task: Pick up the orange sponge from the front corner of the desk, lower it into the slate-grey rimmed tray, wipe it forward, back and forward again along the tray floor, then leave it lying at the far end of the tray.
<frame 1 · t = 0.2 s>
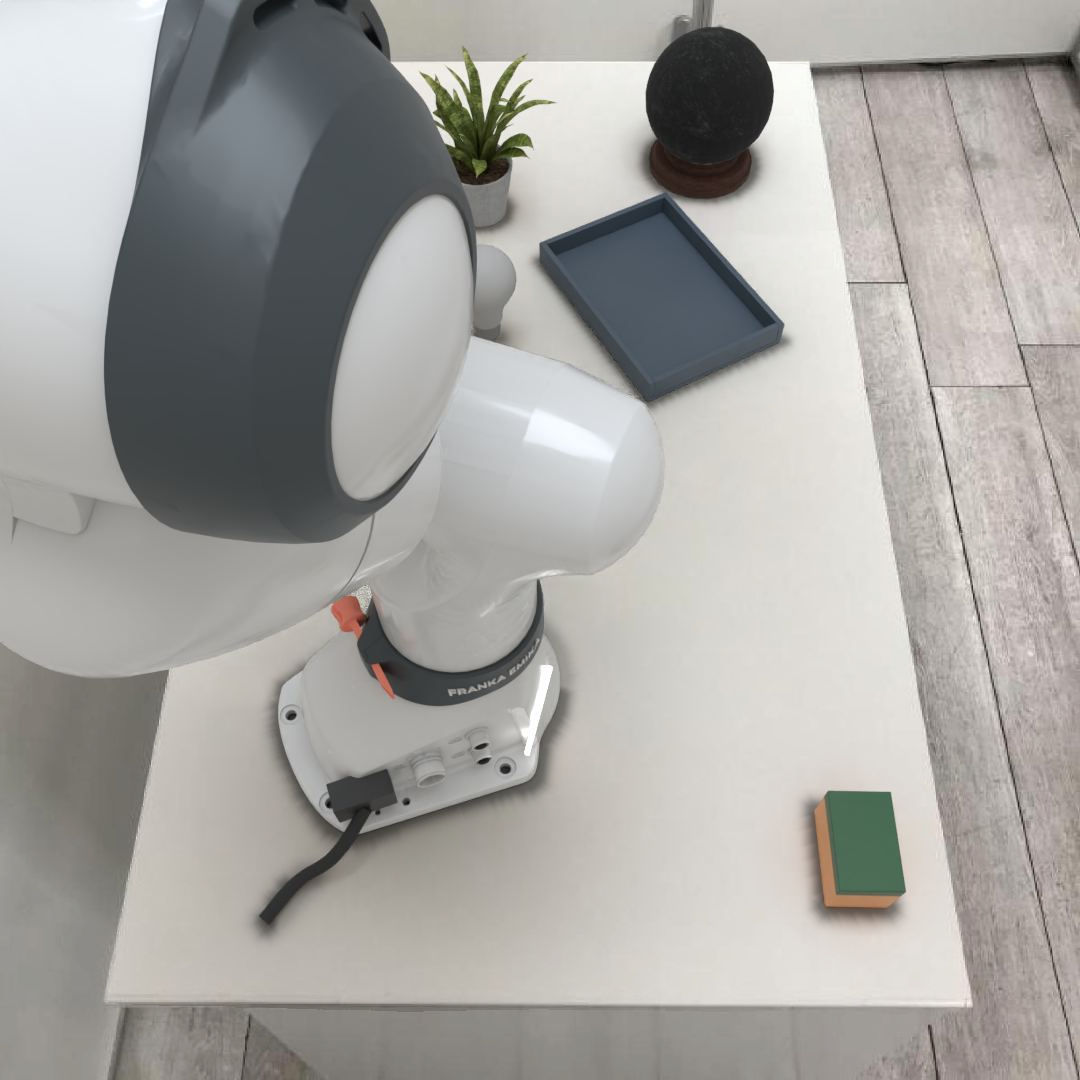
tray: (656, 300, 107), on the table
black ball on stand: (699, 165, 118), on the table
lightbulb: (488, 338, 105), on the table
sponge: (849, 858, 78), on the table
house plant: (494, 209, 115), on the table
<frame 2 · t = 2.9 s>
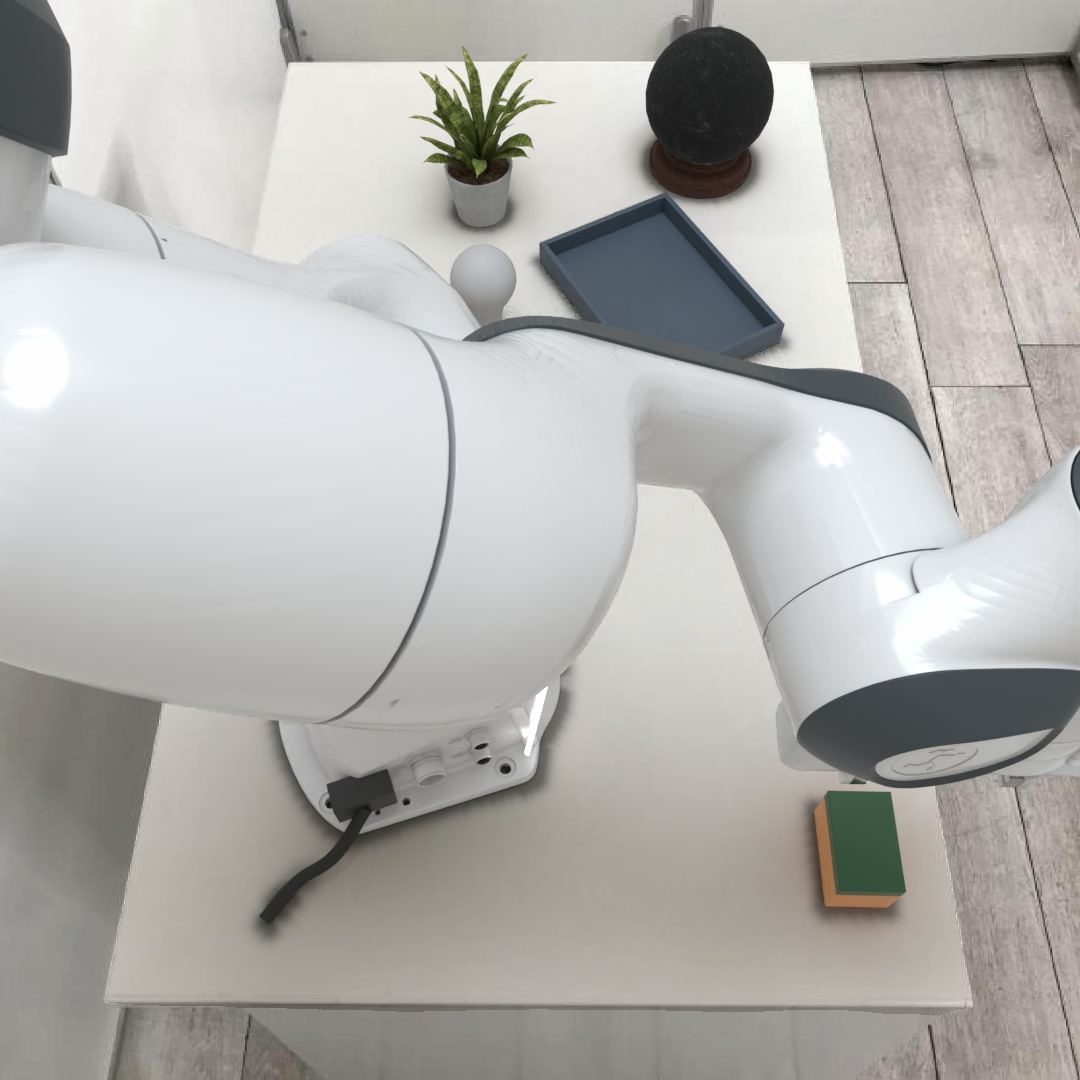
hand: (929, 773, 64), 17 cm above the table, tool pointing down, fingers open, 8 cm apart
nothing on the table moved.
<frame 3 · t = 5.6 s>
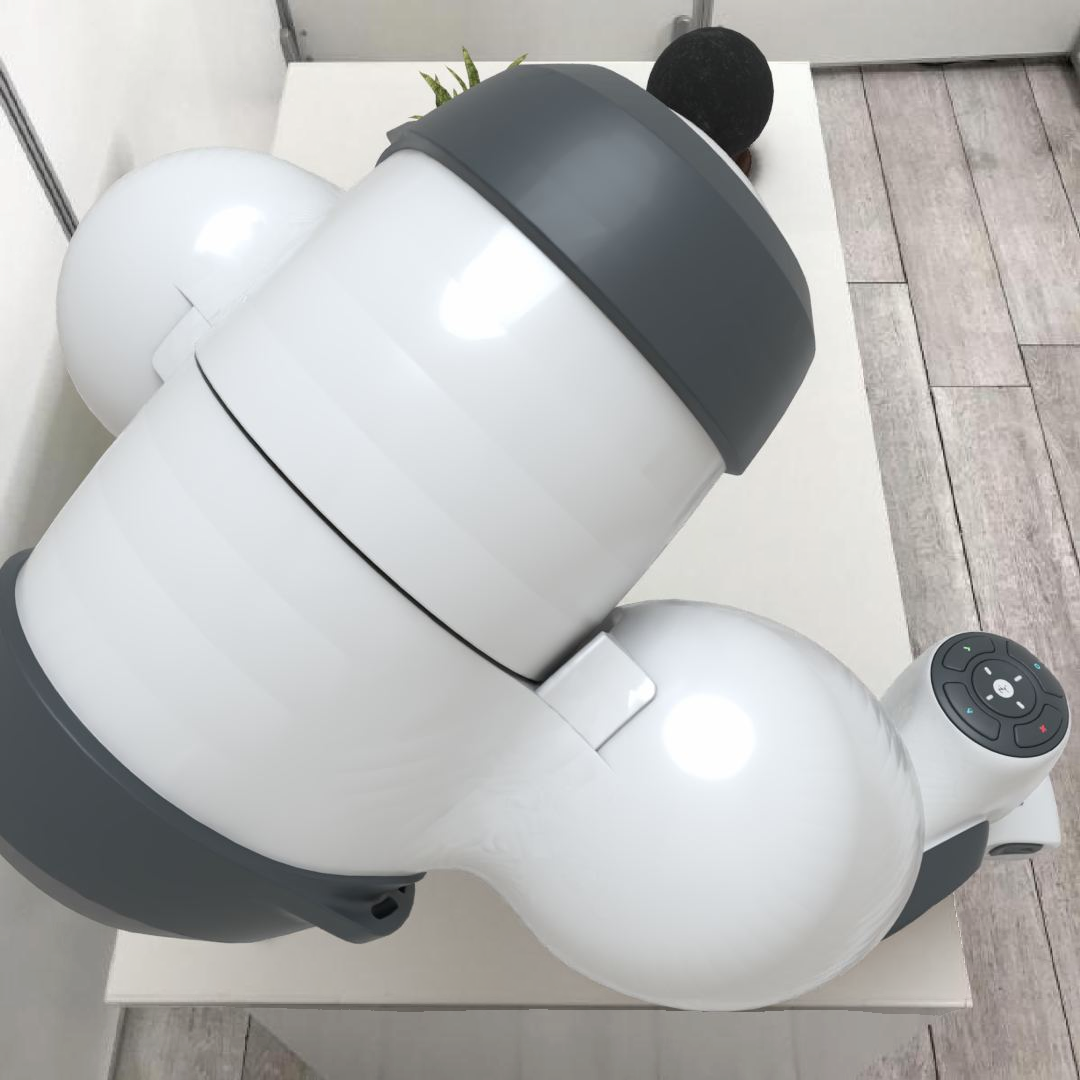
hand: (855, 851, 77), 2 cm above the table, tool pointing down, fingers closed on sponge, 4 cm apart
sponge: (849, 857, 78), on the table, touching gripper
everything else where it was.
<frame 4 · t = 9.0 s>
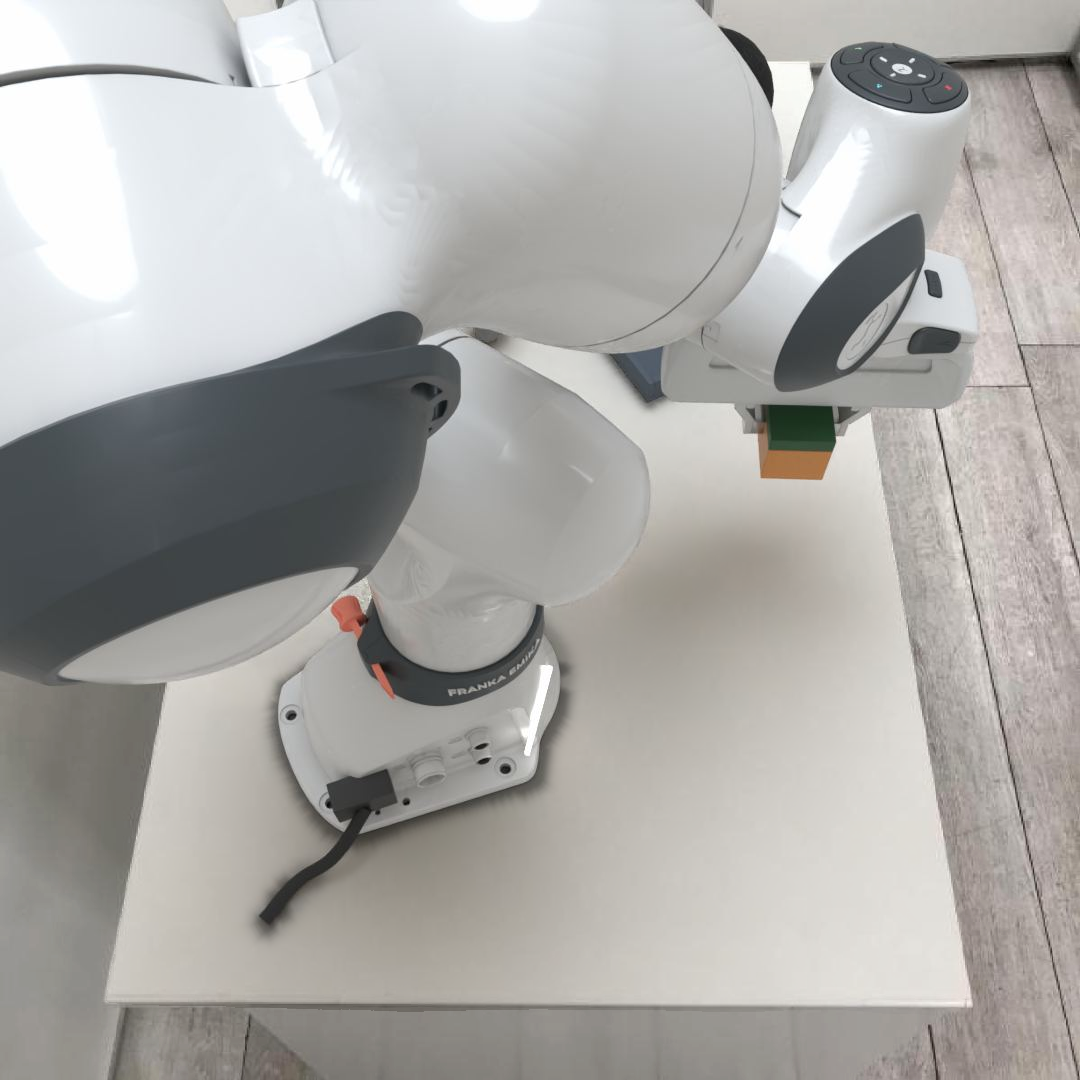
hand: (792, 427, 78), 17 cm above the table, tool pointing down, fingers closed on sponge, 4 cm apart
sponge: (788, 440, 80), point 15 cm above the table, touching gripper
everything else where it was.
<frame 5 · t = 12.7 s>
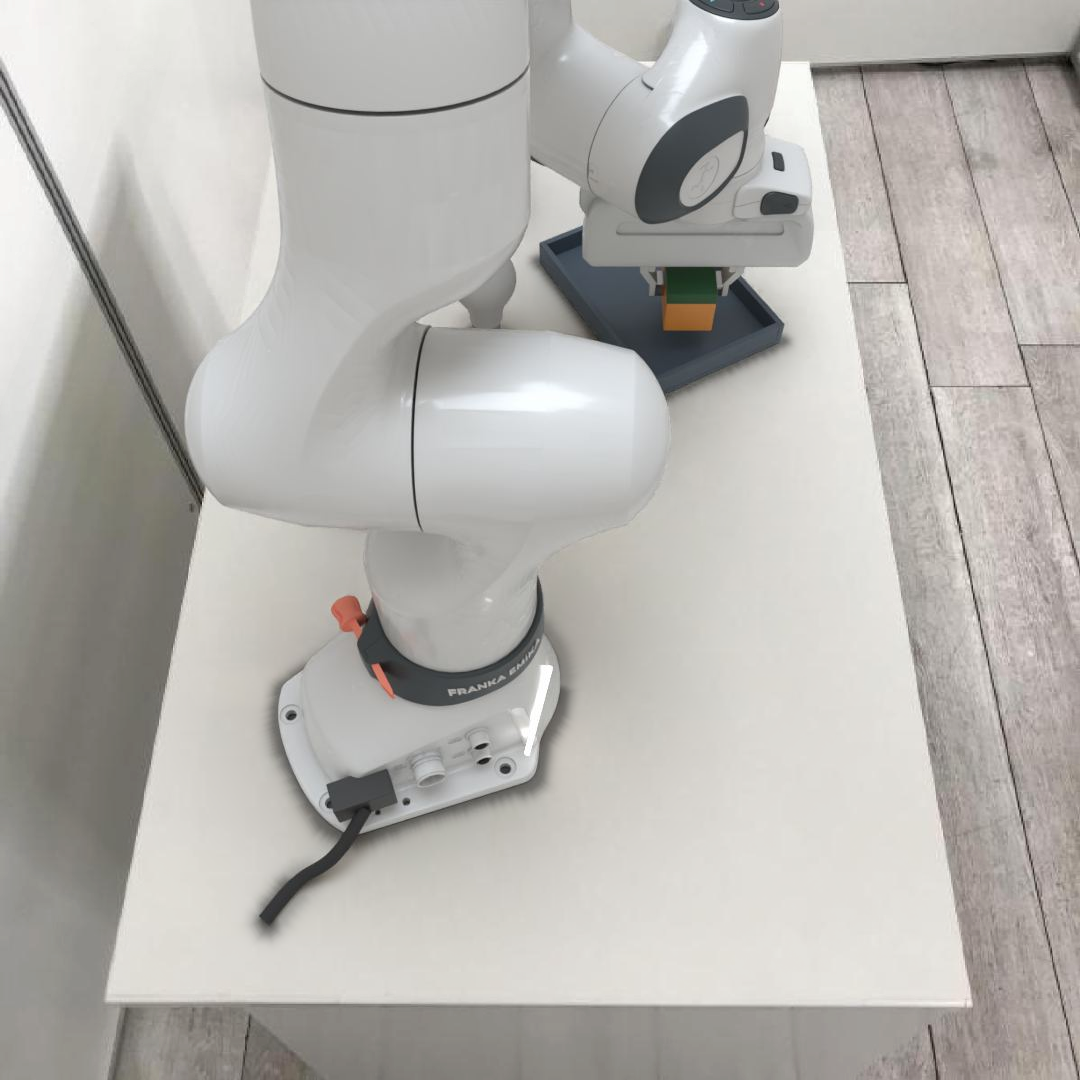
hand: (687, 291, 100), 5 cm above the table, tool pointing down, fingers closed on sponge, 4 cm apart
sponge: (685, 303, 102), point 4 cm above the table, touching gripper
everything else where it was.
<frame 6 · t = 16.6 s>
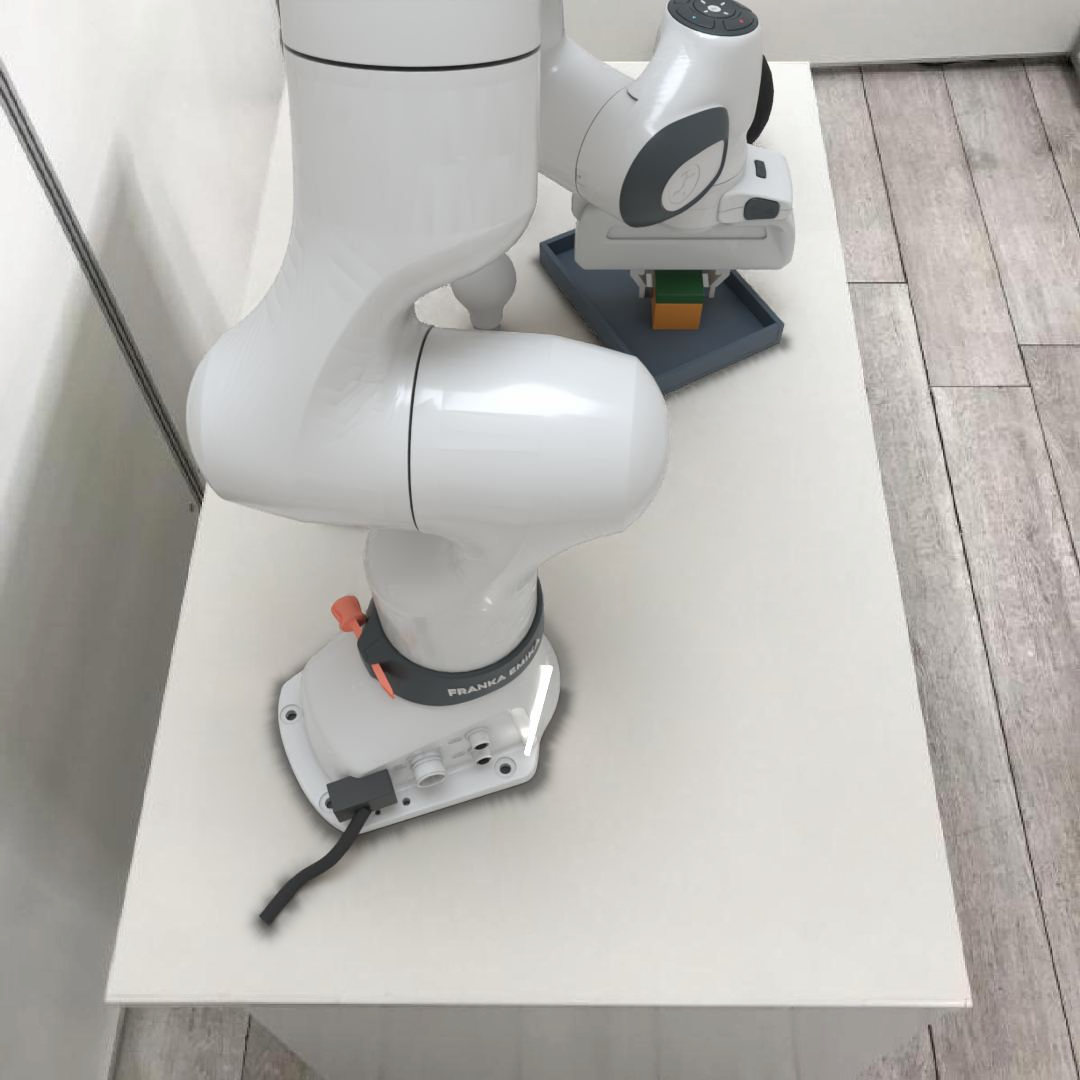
hand: (676, 293, 105), 2 cm above the table, tool pointing down, fingers closed on sponge, 4 cm apart
sponge: (673, 303, 106), point 1 cm above the table, touching gripper
when the fingers open (2 cm above the table, at t = 19.9 s): sponge stays where it is, resting on tray.
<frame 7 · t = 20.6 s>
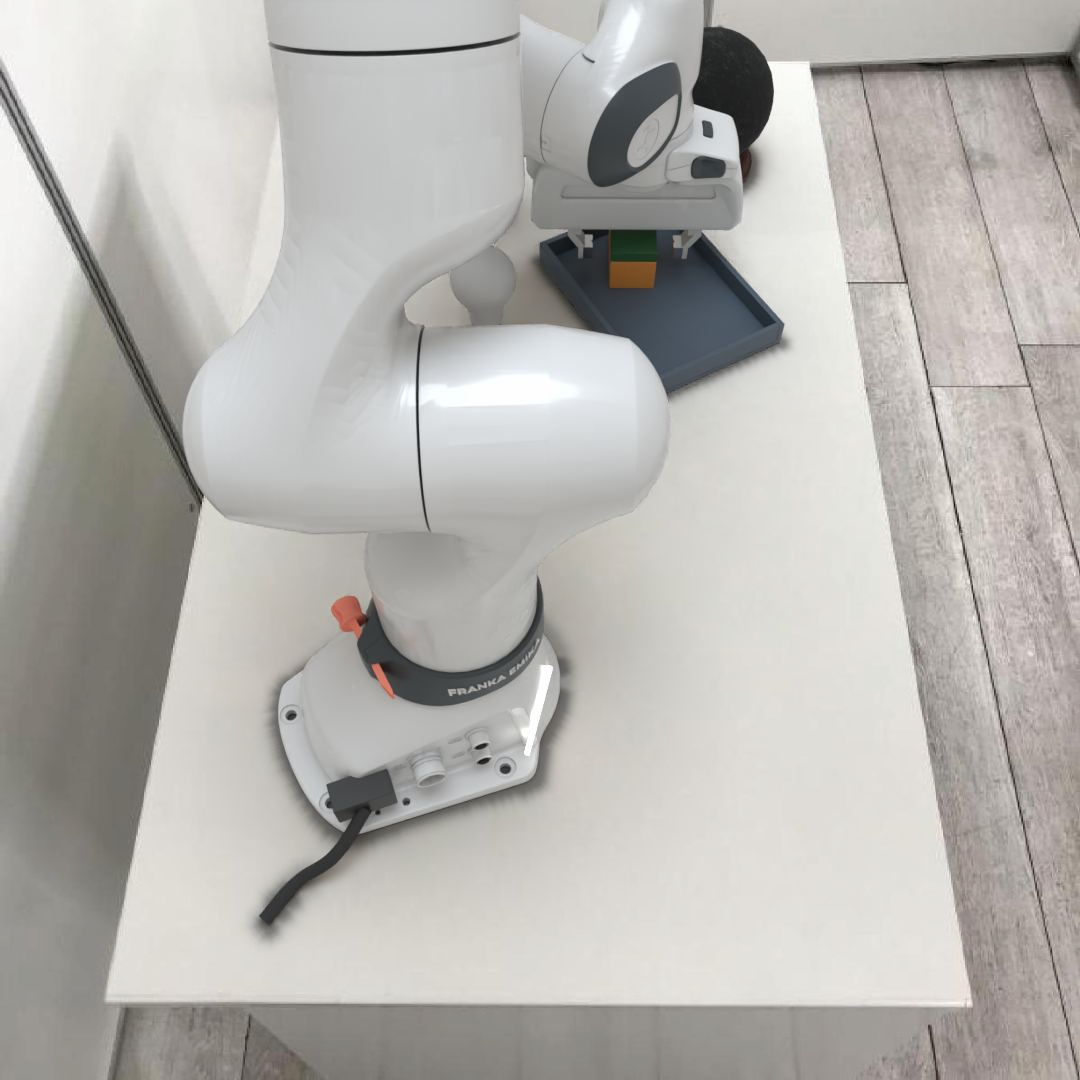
hand: (631, 254, 108), 2 cm above the table, tool pointing down, fingers open, 8 cm apart
sponge: (630, 263, 109), point 1 cm above the table, touching tray
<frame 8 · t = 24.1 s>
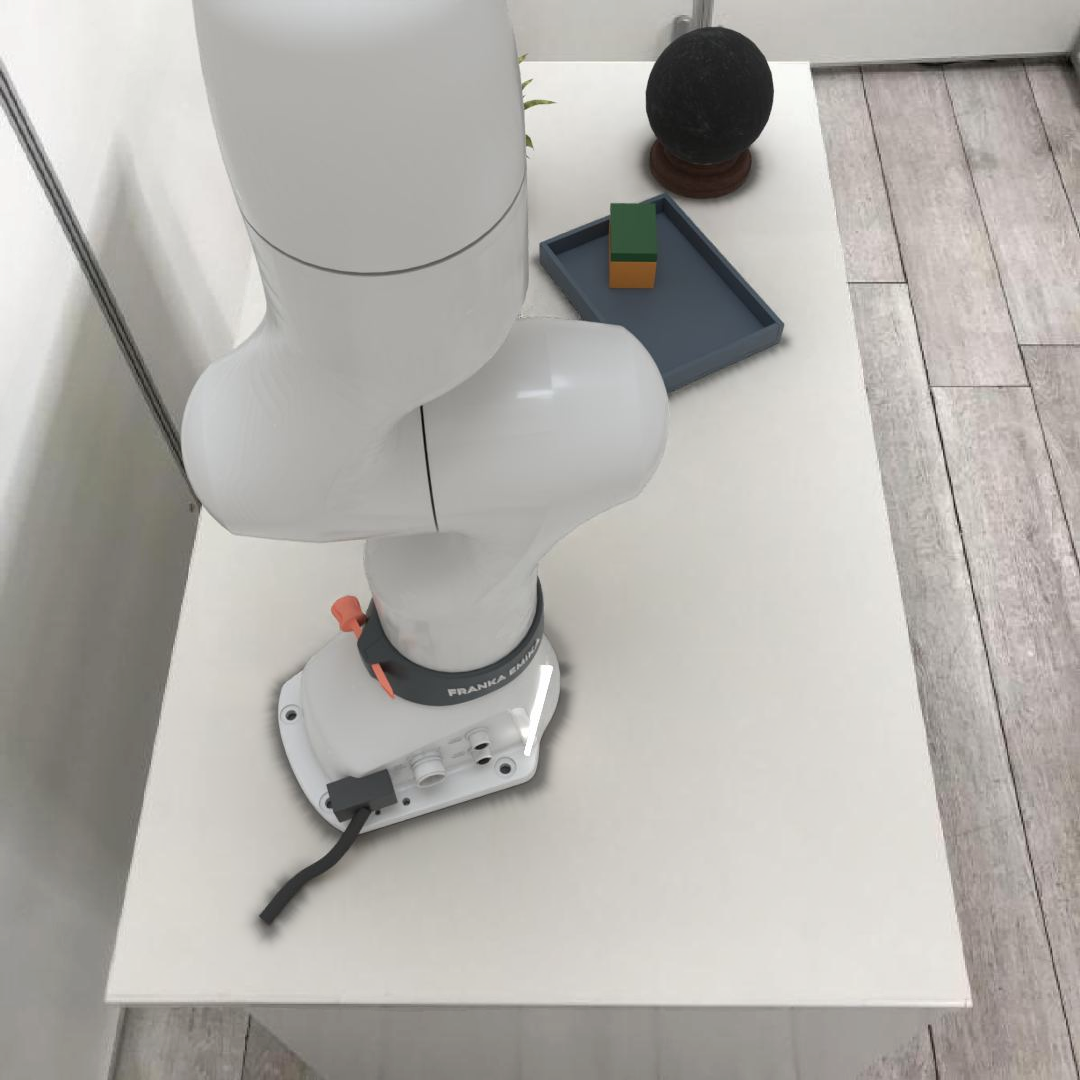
at the end: sponge inside the target area in the tray (0.5 cm from its centre), point 0.6 cm above the tray's base; the gripper is holding nothing; sponge moved 61.6 cm from its start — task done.
